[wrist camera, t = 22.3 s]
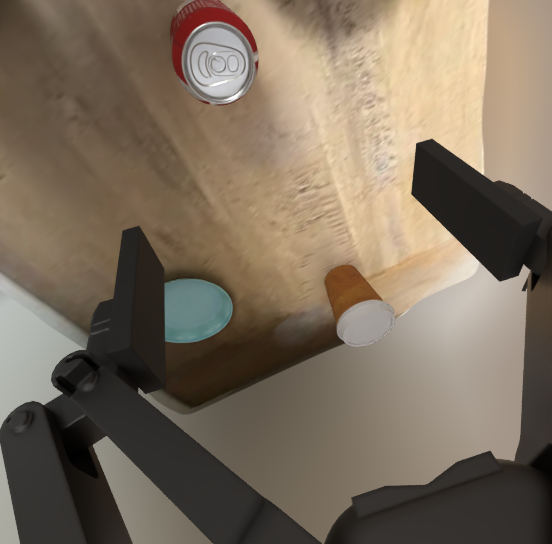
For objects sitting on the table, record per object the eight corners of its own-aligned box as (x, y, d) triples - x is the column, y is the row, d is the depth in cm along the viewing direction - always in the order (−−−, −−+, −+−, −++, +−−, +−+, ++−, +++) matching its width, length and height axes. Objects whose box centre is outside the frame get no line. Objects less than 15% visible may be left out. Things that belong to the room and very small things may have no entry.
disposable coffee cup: (356, 248, 60) (389, 298, 51) (372, 280, 66) (403, 329, 57) (307, 275, 61) (330, 329, 53) (327, 304, 68) (351, 355, 59)
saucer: (248, 297, 61) (251, 308, 59) (189, 341, 65) (189, 353, 64) (183, 252, 52) (183, 264, 50) (118, 308, 56) (117, 320, 54)
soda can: (163, -5, 32) (164, 11, 24) (236, -6, 34) (262, 9, 25) (177, 76, 37) (181, 115, 28) (241, 73, 38) (263, 109, 30)
